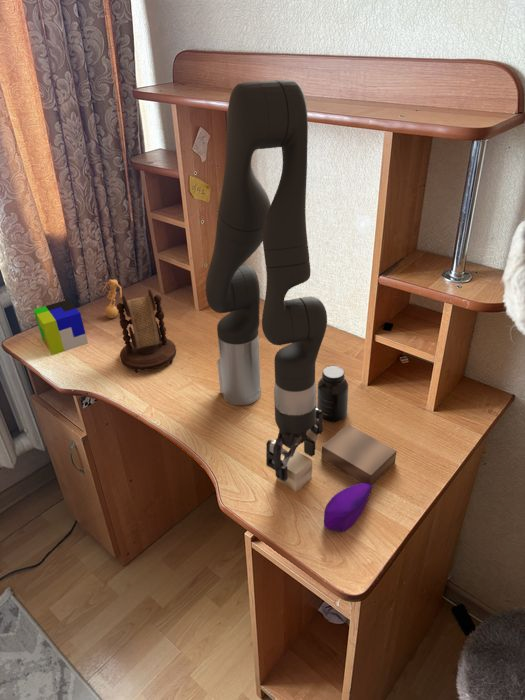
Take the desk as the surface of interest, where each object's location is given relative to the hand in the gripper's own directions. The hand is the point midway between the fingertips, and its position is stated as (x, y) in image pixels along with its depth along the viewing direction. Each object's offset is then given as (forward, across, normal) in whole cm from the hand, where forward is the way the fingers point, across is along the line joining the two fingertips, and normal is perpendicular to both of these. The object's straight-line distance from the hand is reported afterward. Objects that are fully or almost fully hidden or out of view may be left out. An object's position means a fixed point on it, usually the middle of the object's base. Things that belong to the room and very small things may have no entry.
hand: (296, 466), depth 106 cm
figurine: (+2, -16, -84) cm, 86 cm away
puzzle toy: (+3, +2, -84) cm, 84 cm away
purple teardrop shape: (+4, 0, +12) cm, 13 cm away
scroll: (+3, -8, -58) cm, 58 cm away
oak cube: (+4, 0, -1) cm, 4 cm away
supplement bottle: (+4, -21, -6) cm, 22 cm away
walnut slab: (+4, -12, +6) cm, 14 cm away
